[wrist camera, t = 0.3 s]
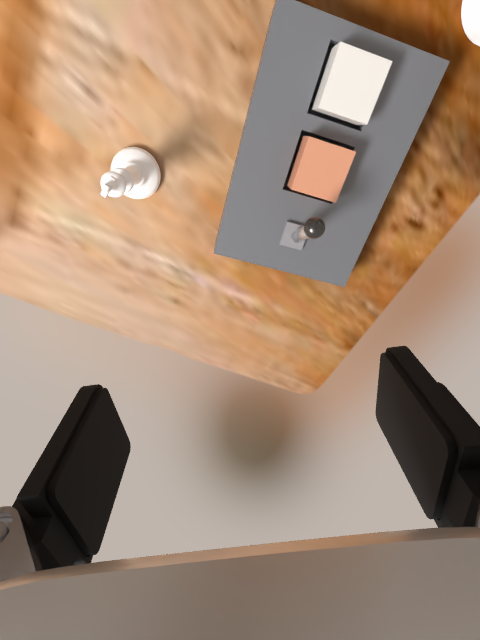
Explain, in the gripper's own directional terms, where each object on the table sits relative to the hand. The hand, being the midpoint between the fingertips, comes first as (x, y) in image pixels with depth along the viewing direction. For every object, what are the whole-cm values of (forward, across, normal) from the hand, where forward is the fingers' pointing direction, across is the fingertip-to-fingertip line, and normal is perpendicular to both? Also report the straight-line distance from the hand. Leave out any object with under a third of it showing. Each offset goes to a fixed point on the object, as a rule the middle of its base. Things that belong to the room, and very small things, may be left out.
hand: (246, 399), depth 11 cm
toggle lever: (+25, -6, +2) cm, 25 cm away
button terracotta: (+26, -8, -4) cm, 27 cm away
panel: (+29, -8, -4) cm, 30 cm away
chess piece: (+29, +9, -6) cm, 31 cm away
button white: (+26, -11, -10) cm, 30 cm away
